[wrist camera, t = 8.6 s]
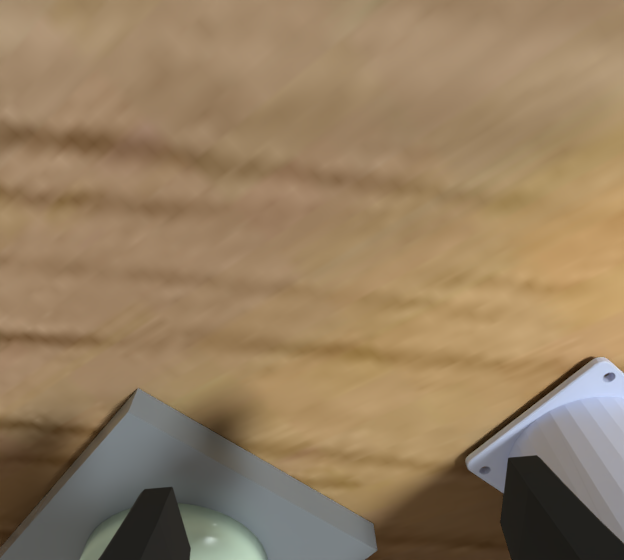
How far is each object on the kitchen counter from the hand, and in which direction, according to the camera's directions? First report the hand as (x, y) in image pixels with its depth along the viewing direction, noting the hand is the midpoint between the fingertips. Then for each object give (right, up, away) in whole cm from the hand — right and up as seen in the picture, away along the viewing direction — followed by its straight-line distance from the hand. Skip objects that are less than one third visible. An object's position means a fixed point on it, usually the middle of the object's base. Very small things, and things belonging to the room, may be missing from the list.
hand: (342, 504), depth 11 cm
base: (-7, -9, +16) cm, 20 cm away
